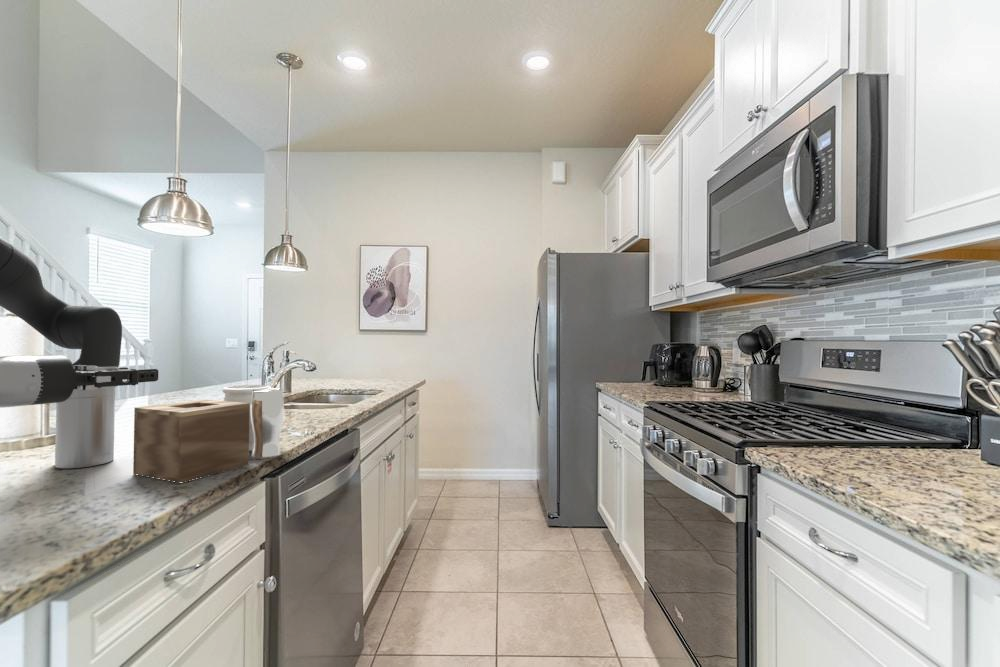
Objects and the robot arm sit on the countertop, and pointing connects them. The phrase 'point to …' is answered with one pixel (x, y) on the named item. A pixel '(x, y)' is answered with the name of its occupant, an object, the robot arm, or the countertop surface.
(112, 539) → the countertop surface
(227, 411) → the slot box
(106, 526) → the countertop surface
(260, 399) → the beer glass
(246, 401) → the jar
